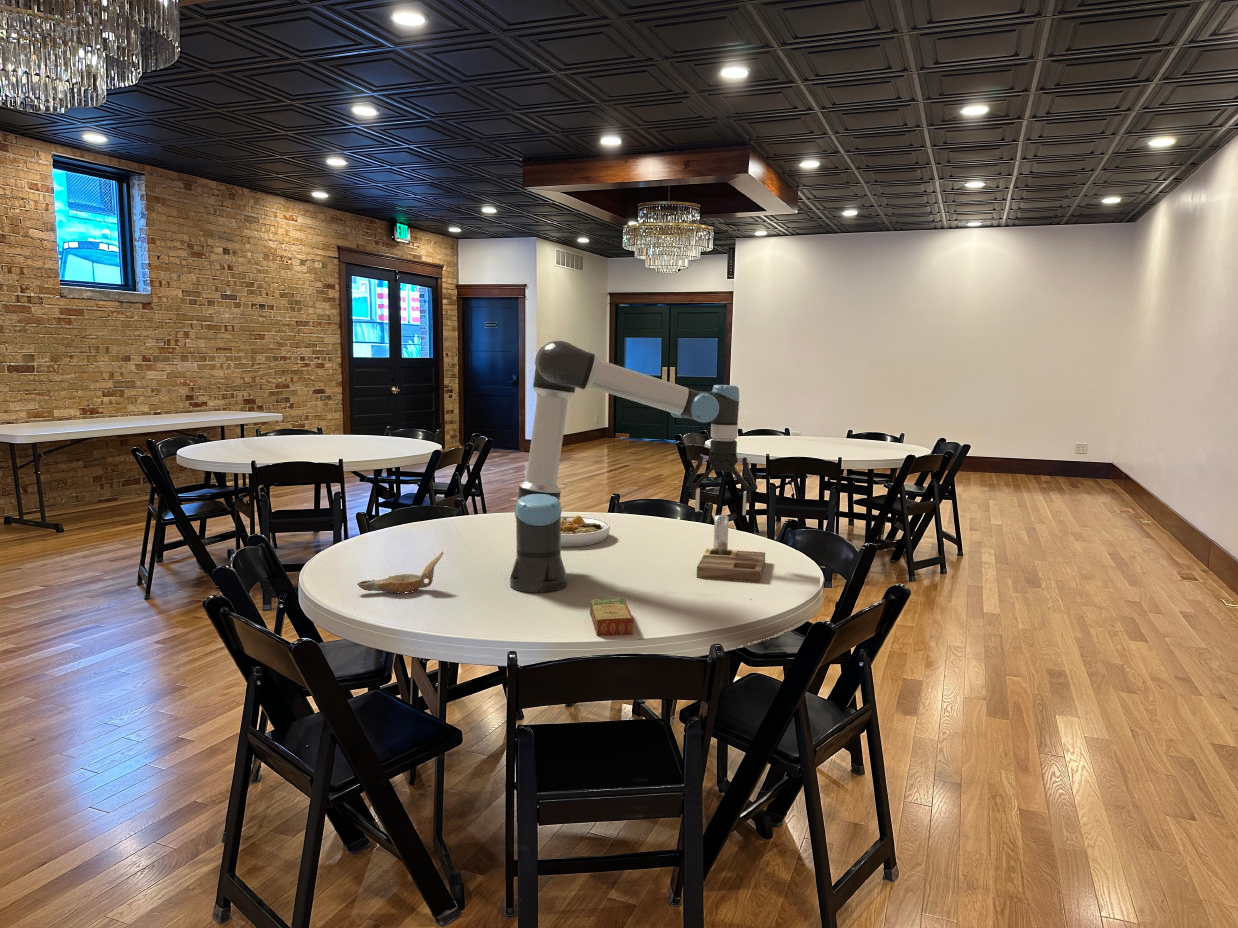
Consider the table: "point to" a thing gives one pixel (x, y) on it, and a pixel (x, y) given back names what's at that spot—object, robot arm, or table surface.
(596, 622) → the carton
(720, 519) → the steel pin
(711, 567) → the socket board
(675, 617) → the table surface
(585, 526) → the bowl
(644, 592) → the table surface
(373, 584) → the oil lamp
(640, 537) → the table surface
